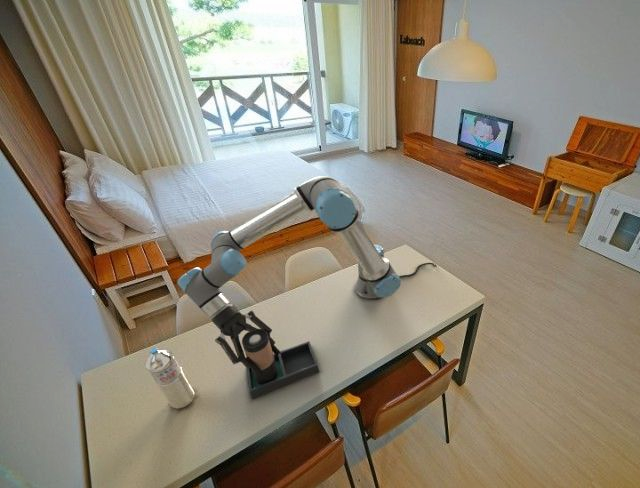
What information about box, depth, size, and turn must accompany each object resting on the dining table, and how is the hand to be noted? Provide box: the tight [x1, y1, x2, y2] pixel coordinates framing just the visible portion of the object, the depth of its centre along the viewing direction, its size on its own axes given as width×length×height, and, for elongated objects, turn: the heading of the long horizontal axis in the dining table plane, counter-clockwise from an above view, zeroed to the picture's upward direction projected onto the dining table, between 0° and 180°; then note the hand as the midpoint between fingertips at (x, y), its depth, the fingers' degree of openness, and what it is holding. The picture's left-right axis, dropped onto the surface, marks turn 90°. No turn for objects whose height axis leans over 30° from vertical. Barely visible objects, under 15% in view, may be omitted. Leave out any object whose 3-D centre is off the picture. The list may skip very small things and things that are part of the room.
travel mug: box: [241, 328, 278, 385], centre depth 105 cm, size 8×8×20 cm
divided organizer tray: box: [245, 340, 320, 400], centre depth 113 cm, size 22×12×4 cm, turn 118°
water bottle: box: [144, 347, 196, 410], centre depth 97 cm, size 7×7×25 cm
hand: (269, 362), depth 104 cm, fingers closed on travel mug, 7 cm apart
